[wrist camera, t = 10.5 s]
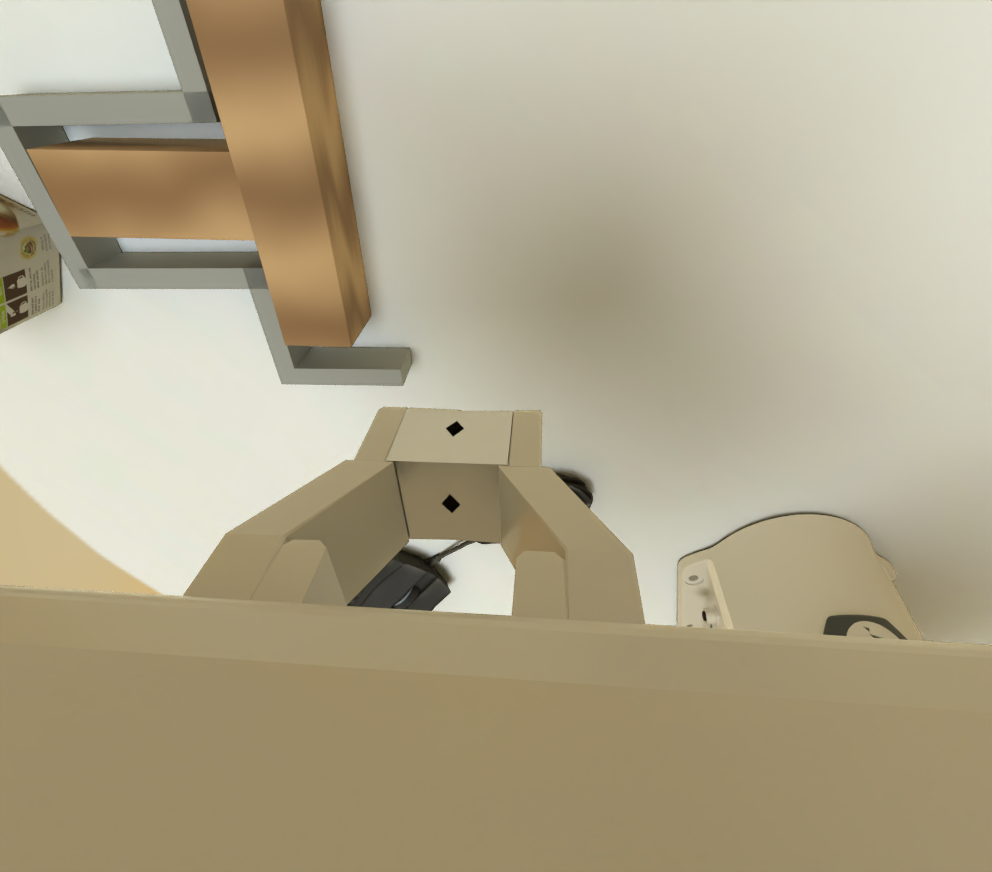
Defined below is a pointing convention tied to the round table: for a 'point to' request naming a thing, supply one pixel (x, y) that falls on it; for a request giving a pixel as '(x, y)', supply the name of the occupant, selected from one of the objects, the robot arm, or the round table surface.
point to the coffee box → (25, 266)
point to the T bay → (108, 267)
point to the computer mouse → (424, 574)
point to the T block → (241, 169)
